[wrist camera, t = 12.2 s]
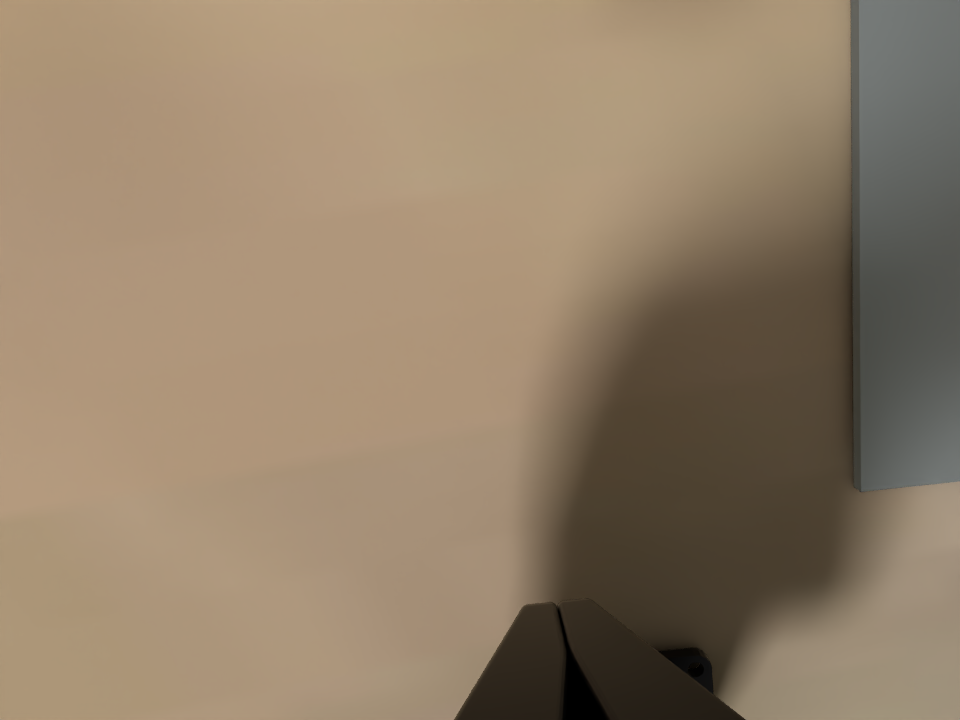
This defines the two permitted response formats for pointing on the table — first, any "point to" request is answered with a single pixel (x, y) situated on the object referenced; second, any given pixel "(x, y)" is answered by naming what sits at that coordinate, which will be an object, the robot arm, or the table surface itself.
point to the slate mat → (905, 242)
